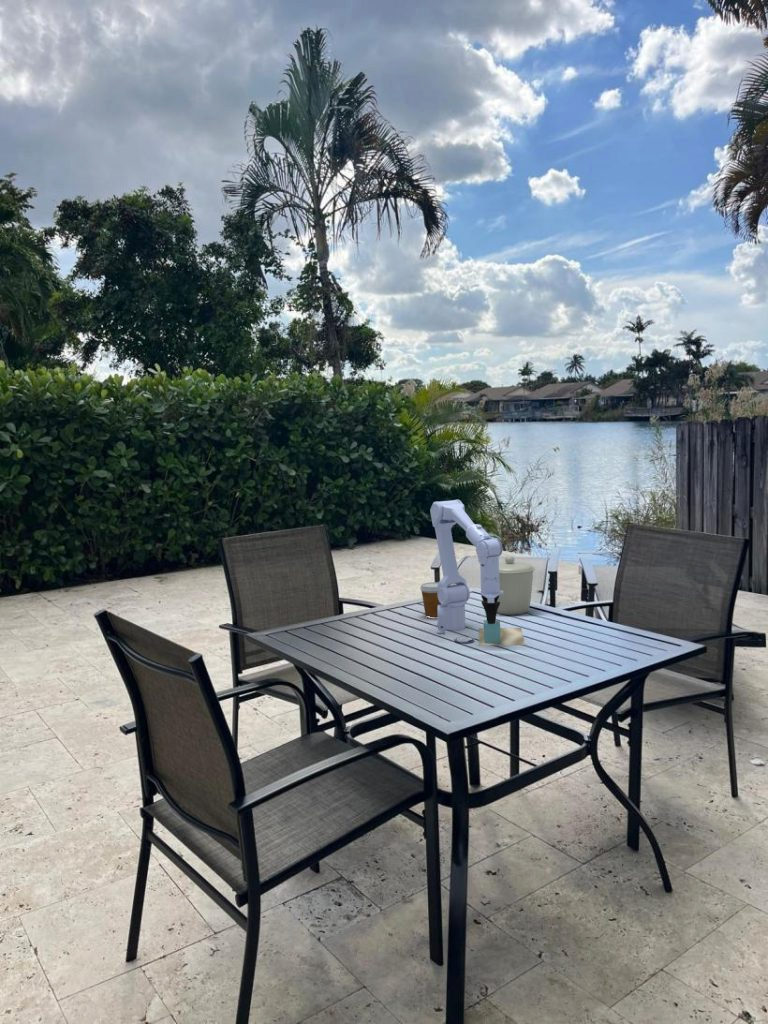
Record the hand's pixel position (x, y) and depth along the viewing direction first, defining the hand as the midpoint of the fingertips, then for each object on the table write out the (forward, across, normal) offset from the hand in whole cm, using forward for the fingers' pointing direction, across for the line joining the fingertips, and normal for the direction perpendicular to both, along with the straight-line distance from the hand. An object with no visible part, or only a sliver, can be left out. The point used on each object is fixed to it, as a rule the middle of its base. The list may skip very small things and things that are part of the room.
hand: (491, 620), depth 227 cm
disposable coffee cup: (+8, +36, +20) cm, 42 cm away
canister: (+8, +42, -8) cm, 43 cm away
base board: (+8, +5, -3) cm, 10 cm away
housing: (+6, 0, 0) cm, 7 cm away
